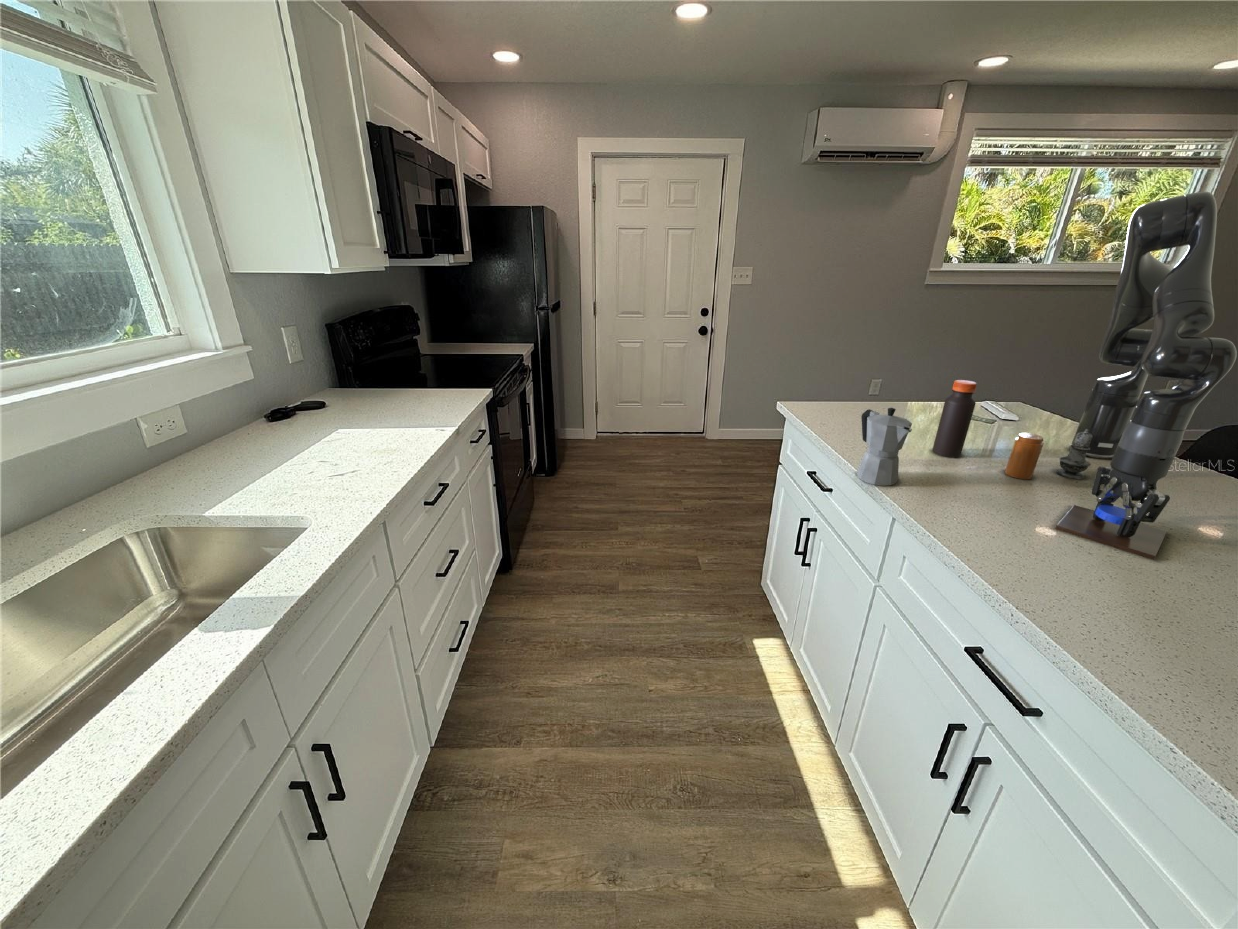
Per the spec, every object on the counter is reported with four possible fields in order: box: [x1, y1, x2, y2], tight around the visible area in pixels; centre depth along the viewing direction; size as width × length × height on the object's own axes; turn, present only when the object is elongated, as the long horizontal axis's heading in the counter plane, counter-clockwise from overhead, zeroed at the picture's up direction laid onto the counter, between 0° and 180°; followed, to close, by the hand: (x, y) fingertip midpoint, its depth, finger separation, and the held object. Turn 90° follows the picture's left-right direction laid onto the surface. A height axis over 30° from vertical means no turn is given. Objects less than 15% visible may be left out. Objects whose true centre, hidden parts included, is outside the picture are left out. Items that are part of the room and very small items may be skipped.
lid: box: [1095, 505, 1136, 525], centre depth 95 cm, size 6×6×2 cm
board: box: [1054, 504, 1167, 560], centre depth 97 cm, size 14×14×1 cm
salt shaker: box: [1055, 429, 1093, 480], centre depth 120 cm, size 6×6×12 cm
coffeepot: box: [855, 407, 913, 487], centre depth 118 cm, size 15×9×18 cm, turn 13°
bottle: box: [932, 379, 978, 458], centre depth 132 cm, size 7×7×20 cm
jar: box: [1004, 432, 1045, 480], centre depth 120 cm, size 5×5×10 cm
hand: (1111, 527), depth 96 cm, fingers closed on lid, 5 cm apart
